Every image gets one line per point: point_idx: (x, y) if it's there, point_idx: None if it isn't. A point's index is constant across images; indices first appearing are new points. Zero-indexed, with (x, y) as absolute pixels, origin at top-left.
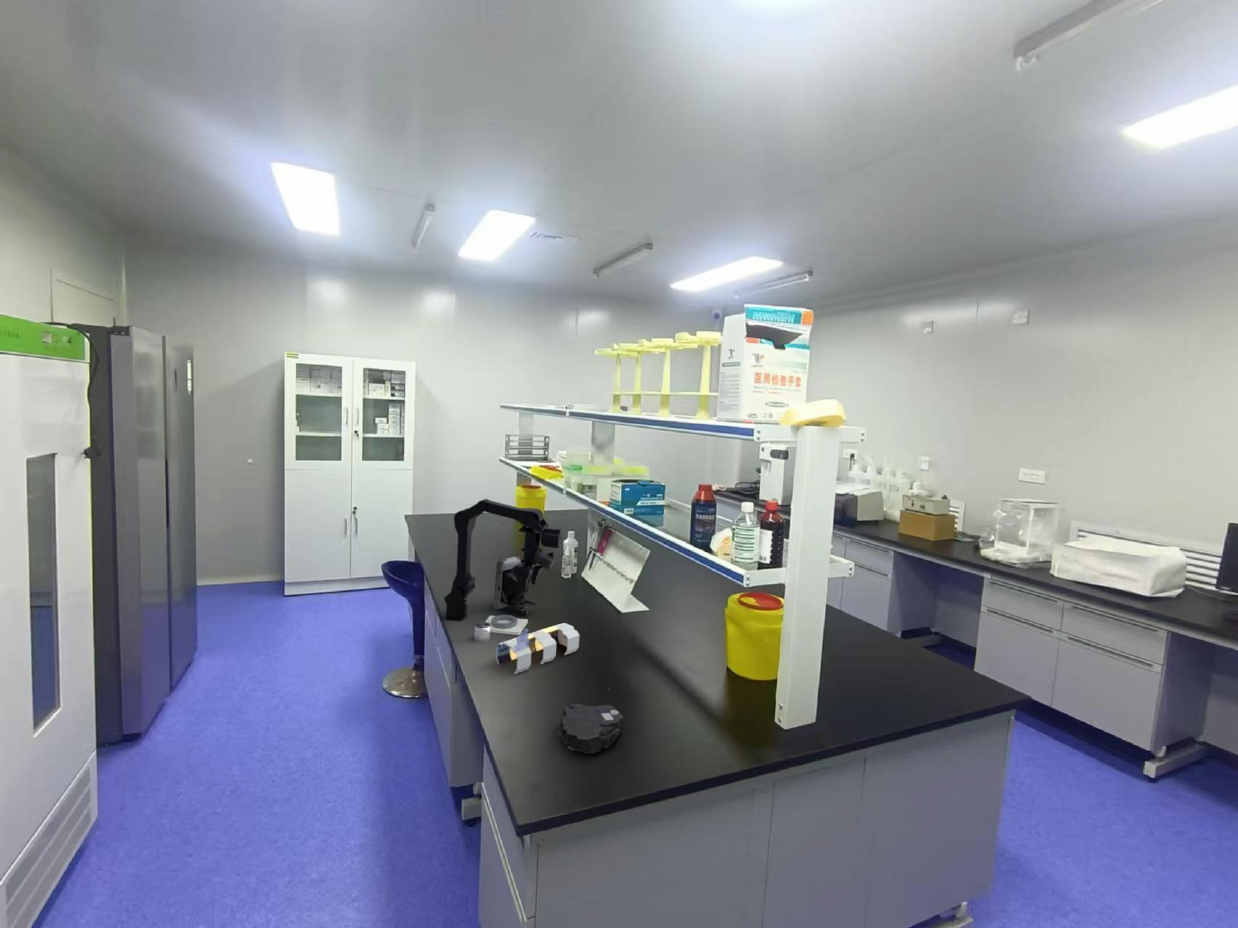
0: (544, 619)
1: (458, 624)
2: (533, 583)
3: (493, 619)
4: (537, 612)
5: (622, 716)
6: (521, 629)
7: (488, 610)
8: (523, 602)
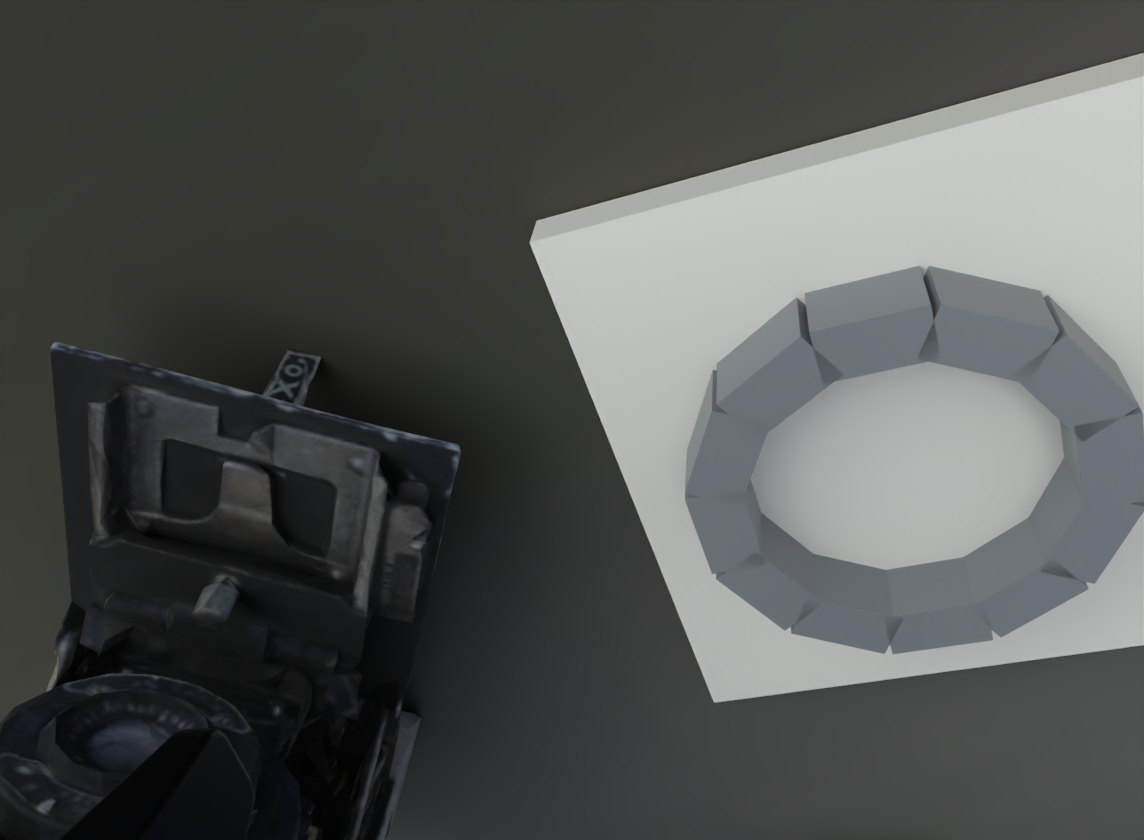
0: (236, 31)
1: (1063, 831)
2: (229, 789)
3: (977, 618)
4: (91, 288)
5: None
6: (1010, 108)
7: (501, 769)
8: (225, 560)
